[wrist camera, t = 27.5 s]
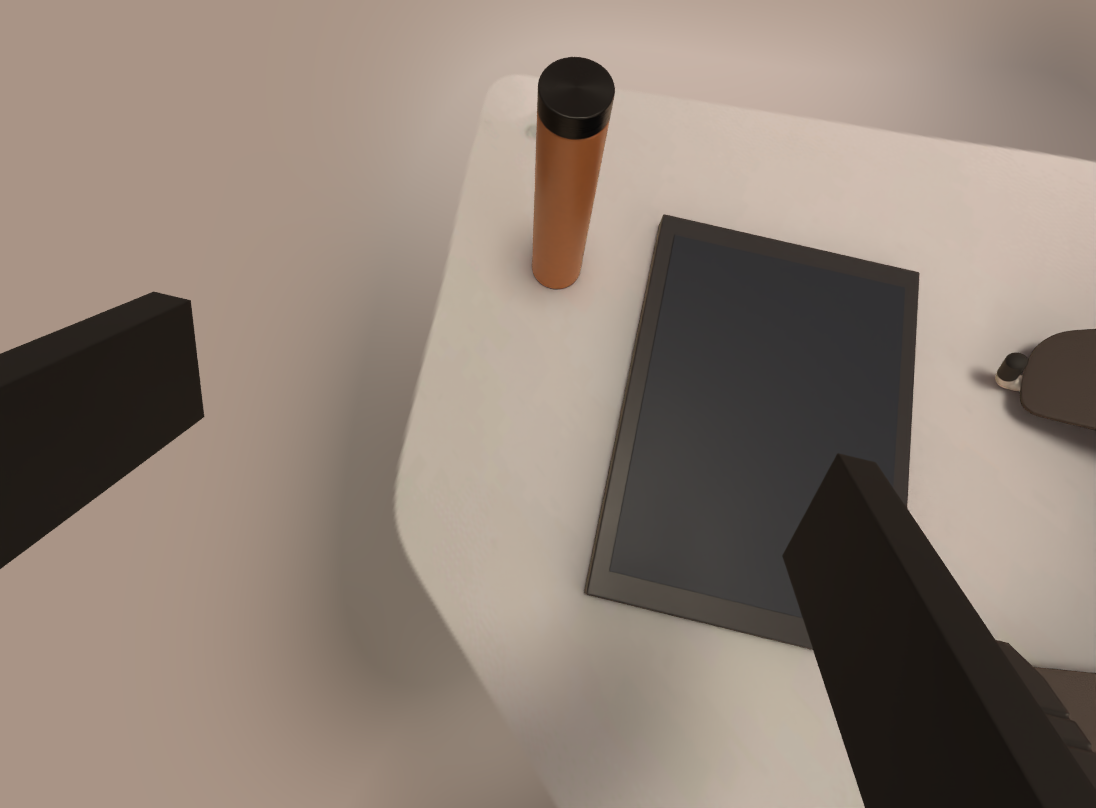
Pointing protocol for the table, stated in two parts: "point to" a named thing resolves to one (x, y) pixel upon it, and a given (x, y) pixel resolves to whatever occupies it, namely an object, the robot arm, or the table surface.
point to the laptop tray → (1074, 398)
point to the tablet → (747, 419)
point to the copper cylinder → (567, 164)
